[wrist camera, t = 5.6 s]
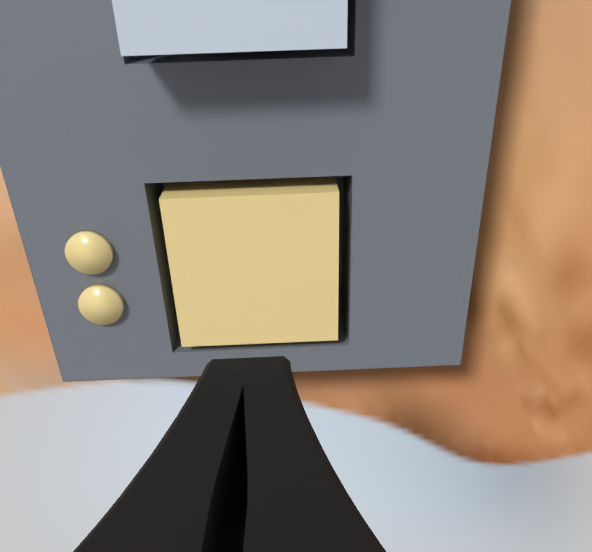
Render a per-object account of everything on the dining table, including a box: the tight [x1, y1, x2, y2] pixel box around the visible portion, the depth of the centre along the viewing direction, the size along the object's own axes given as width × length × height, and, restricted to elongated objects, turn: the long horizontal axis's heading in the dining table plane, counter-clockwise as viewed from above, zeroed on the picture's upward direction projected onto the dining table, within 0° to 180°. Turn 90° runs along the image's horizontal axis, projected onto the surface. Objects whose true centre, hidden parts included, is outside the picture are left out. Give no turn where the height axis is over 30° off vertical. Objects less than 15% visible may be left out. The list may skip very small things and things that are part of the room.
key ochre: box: [159, 176, 339, 347], centre depth 16 cm, size 4×4×2 cm
